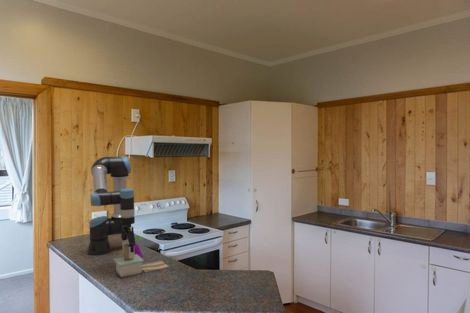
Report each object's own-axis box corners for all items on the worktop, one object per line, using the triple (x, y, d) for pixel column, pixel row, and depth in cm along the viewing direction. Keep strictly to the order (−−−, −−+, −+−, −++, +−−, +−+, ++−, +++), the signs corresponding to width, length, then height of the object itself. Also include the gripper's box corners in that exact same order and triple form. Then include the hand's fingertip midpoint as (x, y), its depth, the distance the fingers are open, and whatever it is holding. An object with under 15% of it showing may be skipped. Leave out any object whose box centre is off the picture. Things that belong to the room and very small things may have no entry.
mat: (137, 266, 187) (137, 264, 187) (160, 261, 195) (160, 260, 195) (145, 273, 175) (145, 272, 175) (169, 267, 183) (169, 266, 183)
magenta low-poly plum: (137, 263, 191) (136, 238, 191) (120, 263, 193) (120, 238, 193) (146, 257, 202) (145, 234, 202) (130, 257, 204) (129, 233, 204)
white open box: (116, 271, 179) (115, 260, 179) (135, 267, 185) (135, 256, 185) (121, 277, 170) (120, 266, 170) (141, 272, 176) (141, 262, 176)
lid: (113, 260, 179) (113, 244, 179) (136, 256, 186) (136, 240, 186) (119, 267, 168) (118, 249, 168) (143, 262, 175) (143, 245, 175)
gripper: (115, 214, 185) (116, 250, 186) (126, 221, 165) (127, 262, 165) (128, 212, 190) (129, 248, 190) (141, 219, 169) (142, 259, 169)
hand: (128, 254), depth 177 cm, fingers open, 13 cm apart
